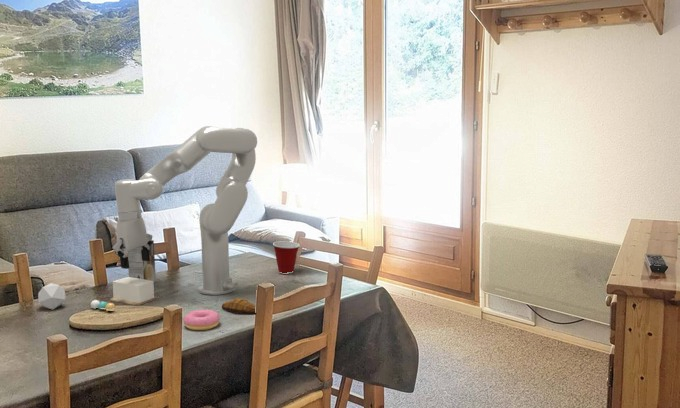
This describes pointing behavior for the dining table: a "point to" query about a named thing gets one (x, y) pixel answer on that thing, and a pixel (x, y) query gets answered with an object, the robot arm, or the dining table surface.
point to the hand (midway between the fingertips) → (135, 264)
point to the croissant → (239, 306)
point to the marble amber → (110, 306)
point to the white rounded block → (133, 289)
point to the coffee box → (142, 264)
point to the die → (51, 296)
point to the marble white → (94, 304)
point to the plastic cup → (286, 255)
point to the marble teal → (102, 304)
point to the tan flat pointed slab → (132, 302)
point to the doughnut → (201, 319)
